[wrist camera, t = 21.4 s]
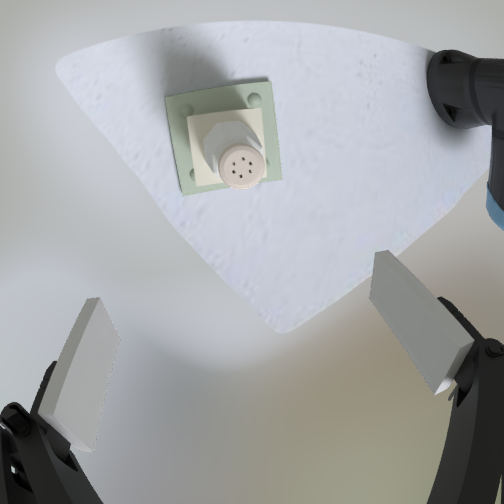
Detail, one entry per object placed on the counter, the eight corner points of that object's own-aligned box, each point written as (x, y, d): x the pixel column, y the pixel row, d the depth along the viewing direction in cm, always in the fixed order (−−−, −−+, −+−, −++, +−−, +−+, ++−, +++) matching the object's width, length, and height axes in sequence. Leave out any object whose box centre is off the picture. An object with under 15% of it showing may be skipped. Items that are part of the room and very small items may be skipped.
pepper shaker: (242, 109, 25) (262, 106, 15) (268, 158, 27) (301, 185, 17) (191, 136, 25) (178, 151, 15) (218, 183, 28) (223, 226, 18)
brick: (253, 108, 30) (261, 107, 25) (258, 167, 33) (267, 177, 28) (190, 116, 29) (186, 116, 24) (198, 175, 32) (196, 186, 27)
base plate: (269, 82, 34) (271, 81, 33) (280, 178, 40) (282, 180, 39) (165, 97, 33) (164, 97, 32) (183, 194, 40) (182, 196, 38)
